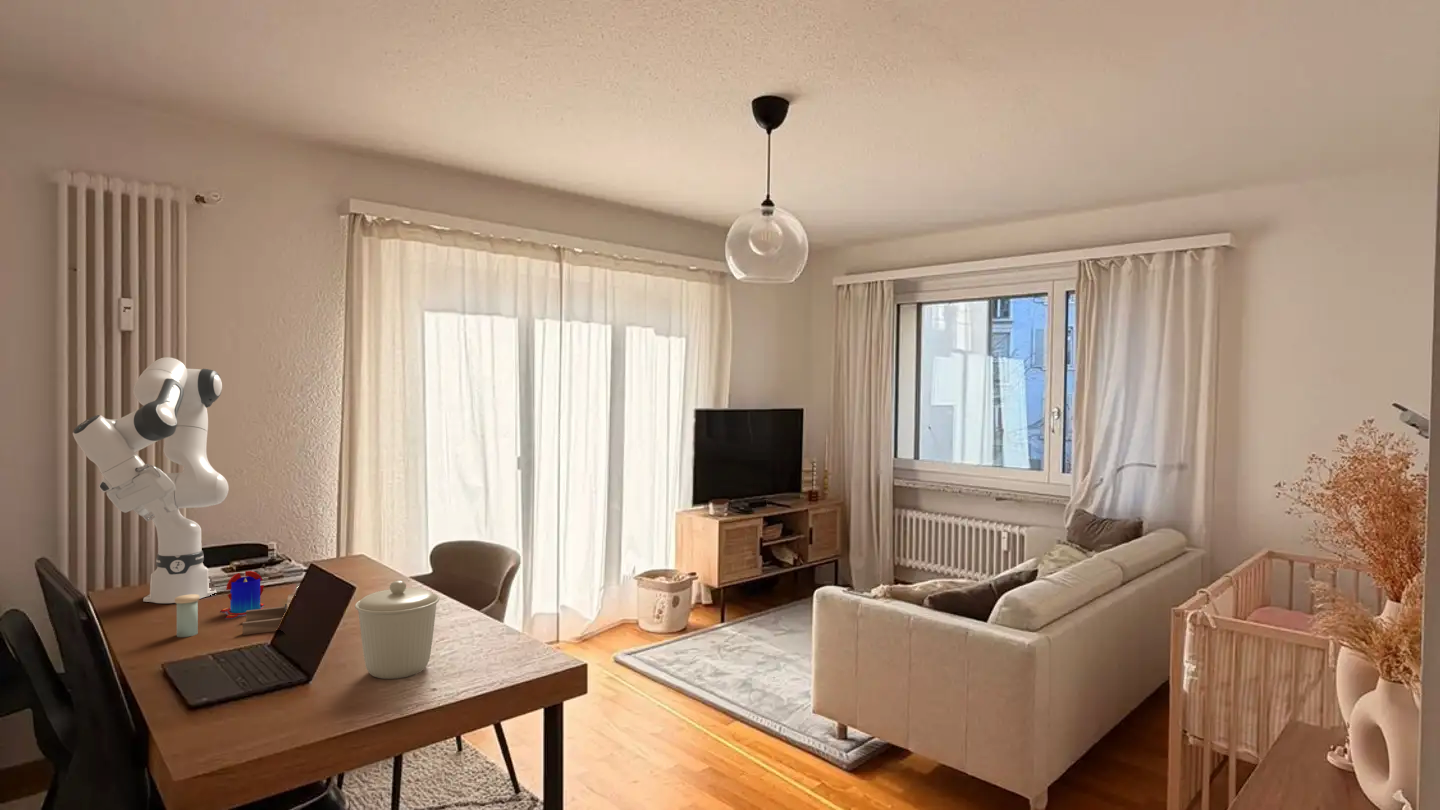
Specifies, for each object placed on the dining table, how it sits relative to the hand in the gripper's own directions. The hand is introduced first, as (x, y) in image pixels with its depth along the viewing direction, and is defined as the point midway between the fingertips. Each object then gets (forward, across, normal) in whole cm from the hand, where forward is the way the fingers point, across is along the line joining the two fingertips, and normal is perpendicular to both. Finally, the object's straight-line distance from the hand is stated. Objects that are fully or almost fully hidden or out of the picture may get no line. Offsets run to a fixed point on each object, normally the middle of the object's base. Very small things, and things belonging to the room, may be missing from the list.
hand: (161, 515), depth 208 cm
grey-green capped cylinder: (+29, +2, +14) cm, 32 cm away
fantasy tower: (+37, +8, -6) cm, 38 cm away
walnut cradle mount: (+39, -10, +2) cm, 41 cm away
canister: (+51, -66, +21) cm, 86 cm away
